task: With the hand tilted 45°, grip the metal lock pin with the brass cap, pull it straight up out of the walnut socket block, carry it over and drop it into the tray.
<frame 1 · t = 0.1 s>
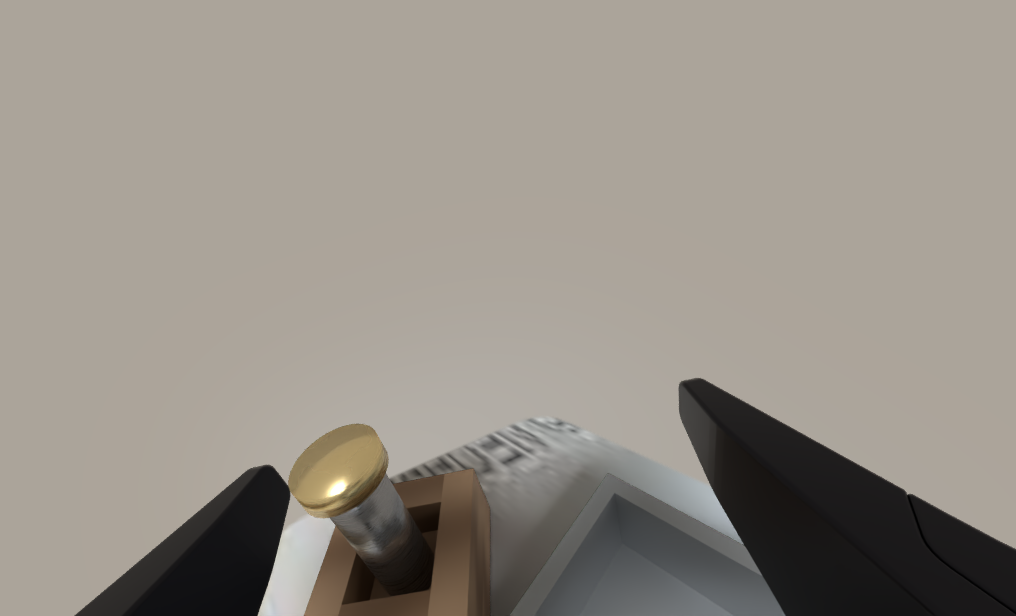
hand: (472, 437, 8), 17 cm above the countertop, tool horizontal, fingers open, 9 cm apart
lock pin: (412, 573, 21), point 1 cm above the countertop, touching socket block
socket block: (421, 587, 22), on the countertop
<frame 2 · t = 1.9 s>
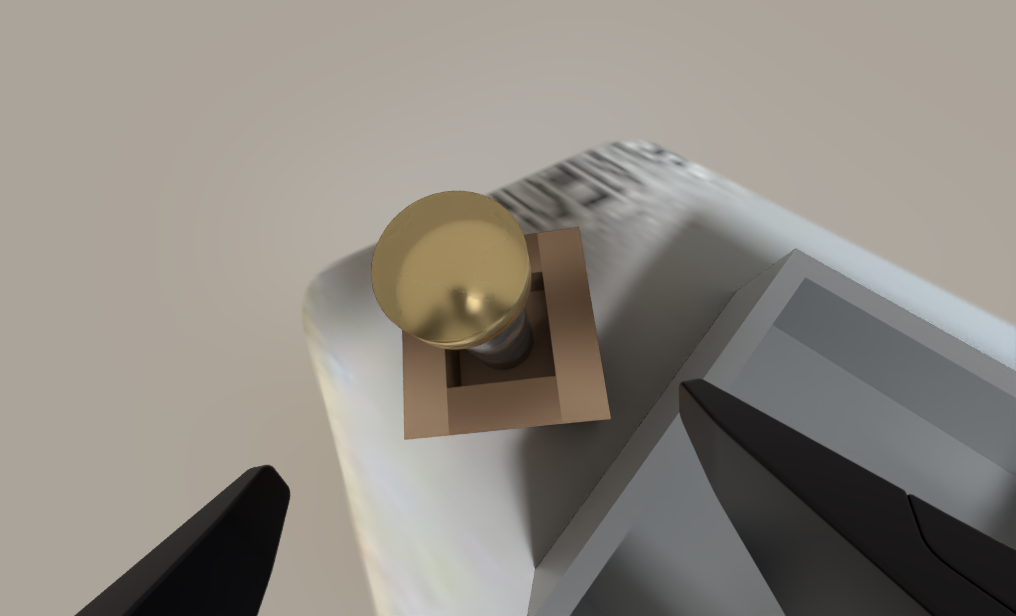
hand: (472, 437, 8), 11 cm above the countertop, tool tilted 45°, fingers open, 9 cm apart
lock pin: (504, 340, 18), point 1 cm above the countertop, touching socket block
tray: (810, 552, 16), on the countertop
socket block: (508, 345, 20), on the countertop
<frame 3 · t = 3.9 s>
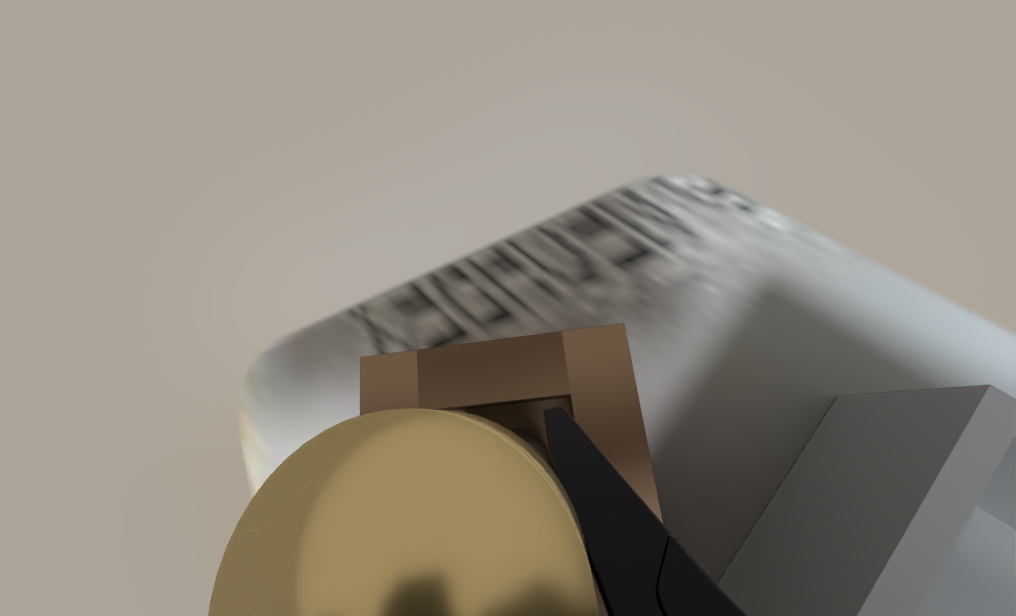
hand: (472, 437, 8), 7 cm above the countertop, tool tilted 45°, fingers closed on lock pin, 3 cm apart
lock pin: (511, 473, 13), point 2 cm above the countertop, touching gripper, socket block
socket block: (516, 467, 14), on the countertop
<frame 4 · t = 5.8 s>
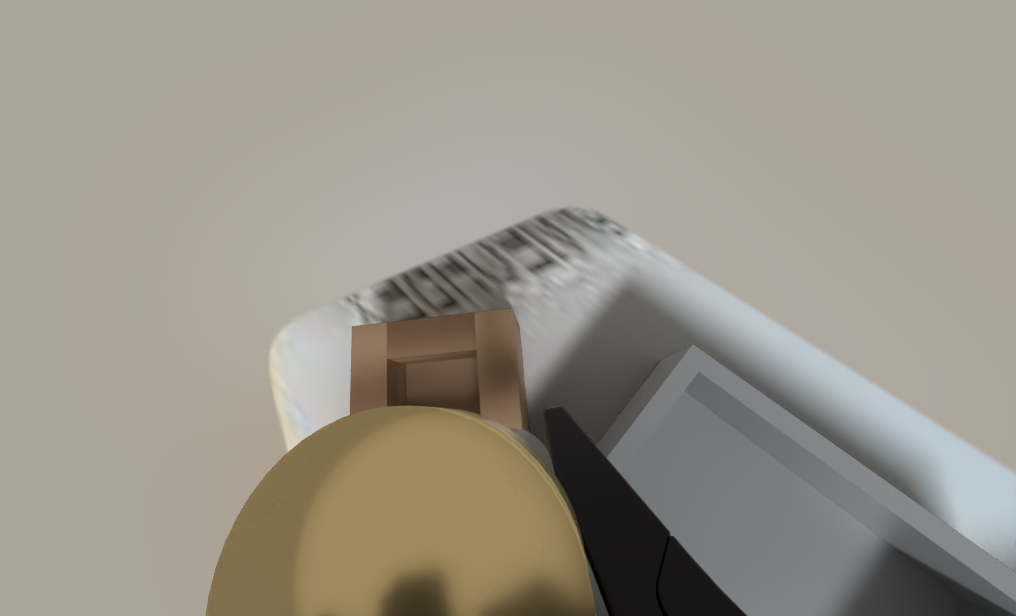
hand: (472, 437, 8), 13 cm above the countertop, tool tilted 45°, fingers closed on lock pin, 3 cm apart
lock pin: (511, 472, 13), point 8 cm above the countertop, touching gripper
tray: (707, 602, 18), on the countertop
socket block: (454, 403, 22), on the countertop
when the fingers open (7 cm above the countertop, at t = 7.8 s): lock pin drops 1 cm, resting on tray.
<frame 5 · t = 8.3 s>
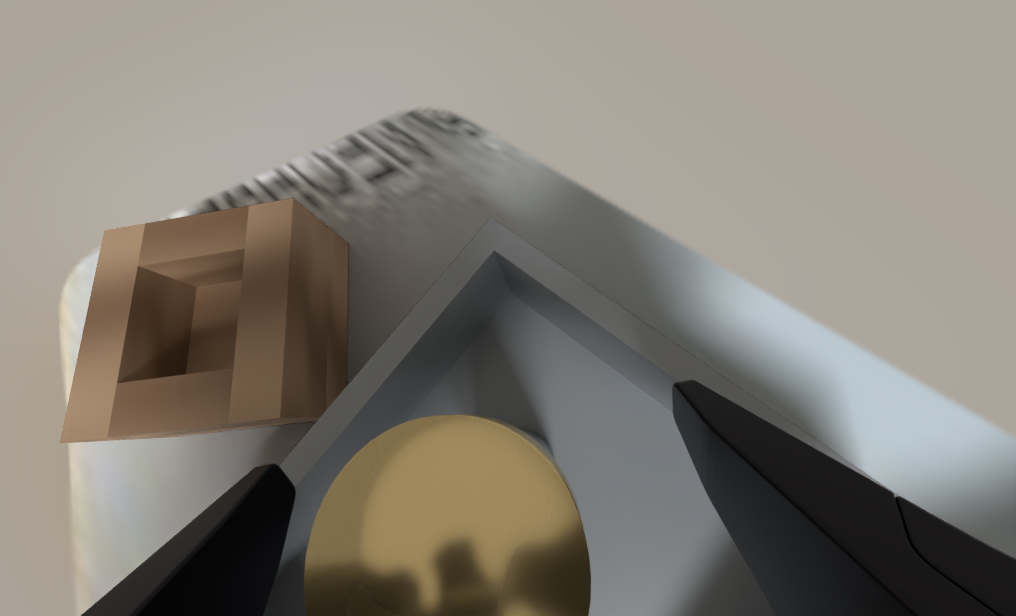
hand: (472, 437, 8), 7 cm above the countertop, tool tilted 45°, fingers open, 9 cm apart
lock pin: (517, 467, 14), point 1 cm above the countertop, touching tray
tray: (543, 568, 14), on the countertop
socket block: (264, 336, 18), on the countertop
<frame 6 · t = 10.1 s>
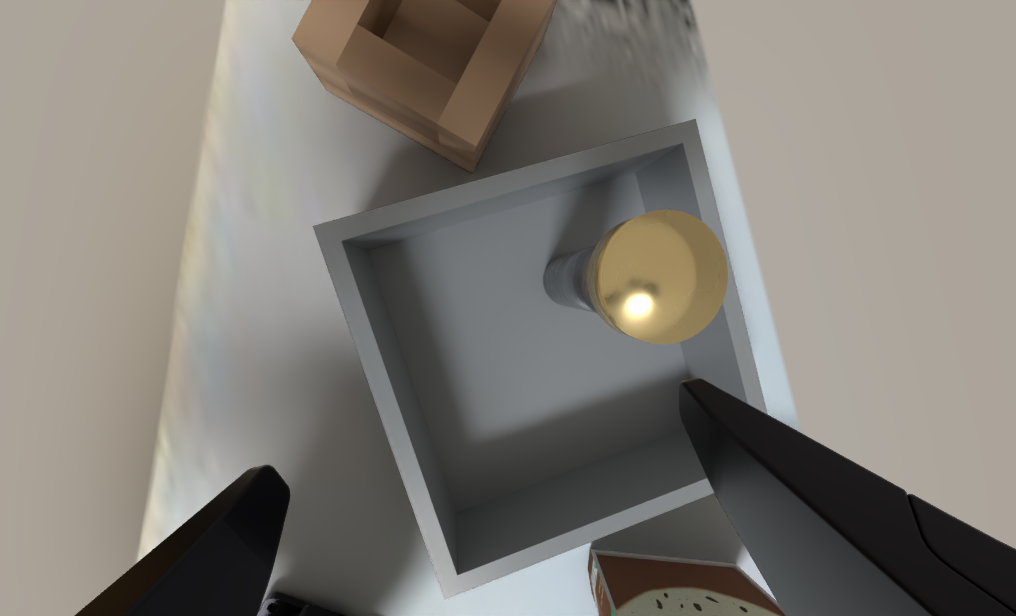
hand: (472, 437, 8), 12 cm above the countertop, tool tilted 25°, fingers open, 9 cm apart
lock pin: (568, 279, 20), point 1 cm above the countertop, touching tray
food container: (652, 602, 23), on the countertop
tray: (543, 340, 21), on the countertop
socket block: (438, 62, 19), on the countertop
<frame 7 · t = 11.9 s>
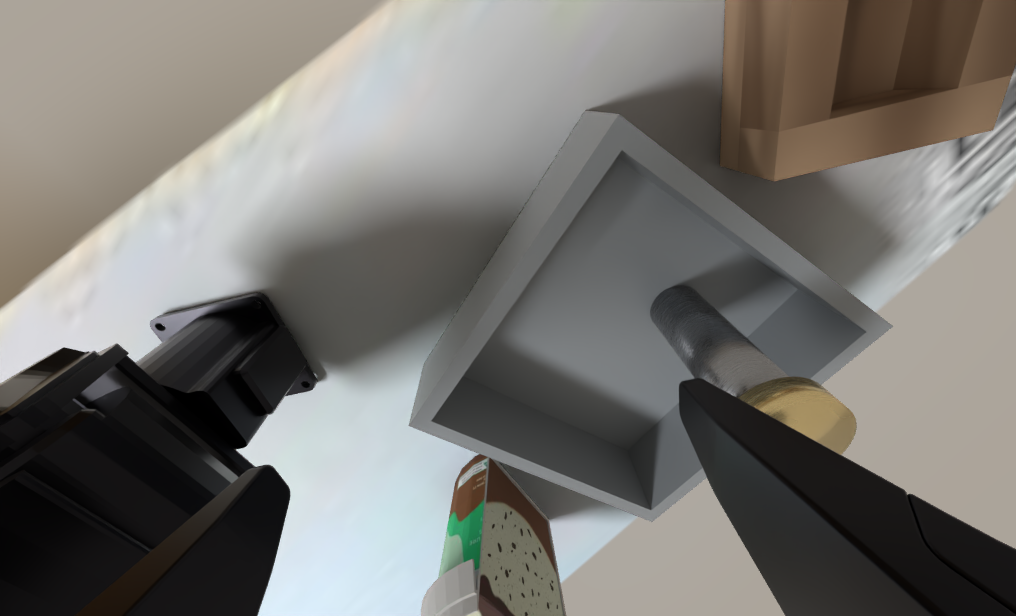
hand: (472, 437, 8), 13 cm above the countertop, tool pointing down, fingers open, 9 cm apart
lock pin: (675, 308, 21), point 1 cm above the countertop, touching tray
food container: (485, 498, 30), on the countertop
tray: (610, 323, 22), on the countertop
socket block: (818, 45, 16), on the countertop
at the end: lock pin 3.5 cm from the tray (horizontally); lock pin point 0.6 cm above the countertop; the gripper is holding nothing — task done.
